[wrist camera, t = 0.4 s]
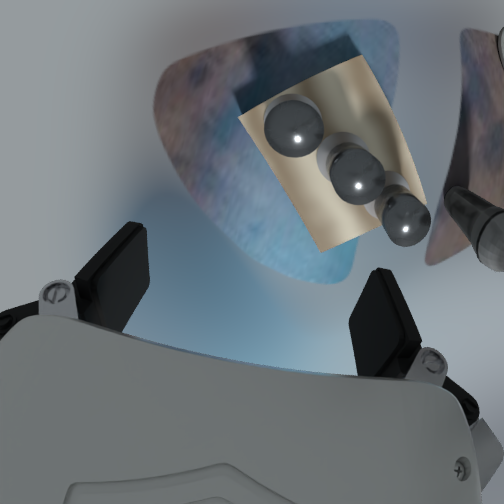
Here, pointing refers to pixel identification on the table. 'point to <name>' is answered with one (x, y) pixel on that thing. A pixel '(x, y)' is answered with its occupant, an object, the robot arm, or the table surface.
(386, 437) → the robot arm
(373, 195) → the knob mid
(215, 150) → the table surface
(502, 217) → the beverage cup
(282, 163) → the mount plate
